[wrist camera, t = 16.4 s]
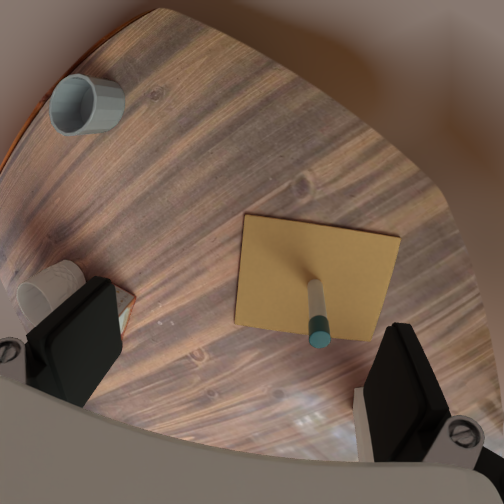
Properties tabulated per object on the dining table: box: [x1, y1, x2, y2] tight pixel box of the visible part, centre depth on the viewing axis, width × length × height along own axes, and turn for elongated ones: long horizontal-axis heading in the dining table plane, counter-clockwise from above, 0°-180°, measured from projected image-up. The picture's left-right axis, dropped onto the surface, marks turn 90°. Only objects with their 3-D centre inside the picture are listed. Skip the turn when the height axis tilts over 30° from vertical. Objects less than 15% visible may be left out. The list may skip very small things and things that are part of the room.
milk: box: [353, 387, 374, 462], centre depth 38 cm, size 6×6×22 cm
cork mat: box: [235, 214, 401, 342], centre depth 42 cm, size 16×20×1 cm
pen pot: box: [49, 74, 125, 136], centre depth 34 cm, size 8×8×7 cm
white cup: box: [17, 260, 86, 327], centre depth 43 cm, size 8×8×10 cm
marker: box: [307, 279, 331, 348], centre depth 36 cm, size 2×2×12 cm
